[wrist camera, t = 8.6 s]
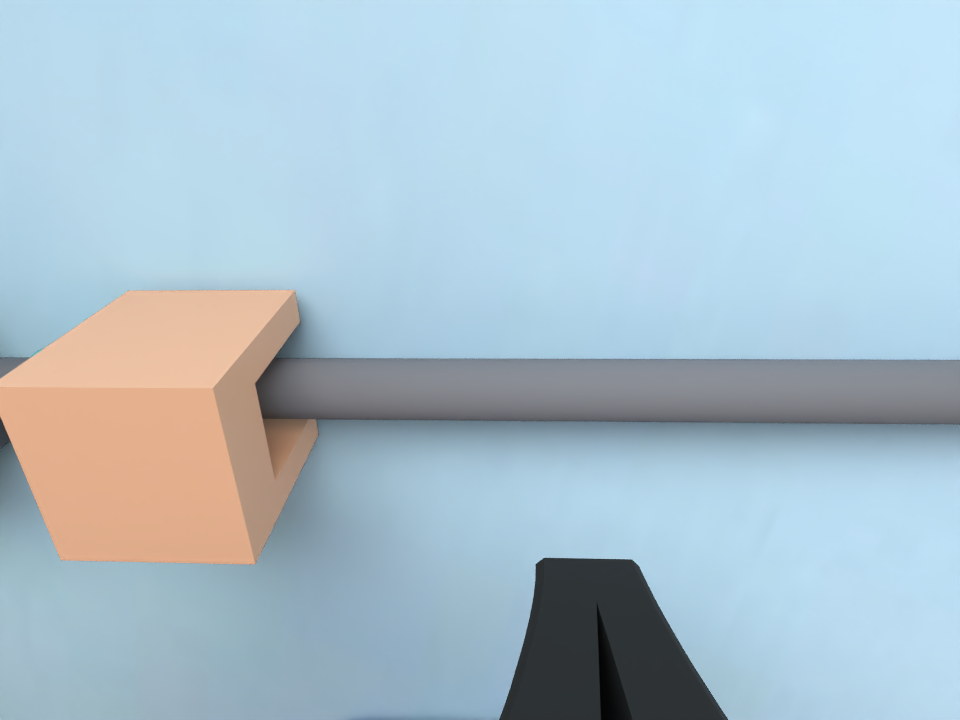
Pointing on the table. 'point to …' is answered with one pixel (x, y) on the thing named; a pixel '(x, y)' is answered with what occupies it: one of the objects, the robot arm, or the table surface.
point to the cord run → (606, 390)
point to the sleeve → (159, 428)
